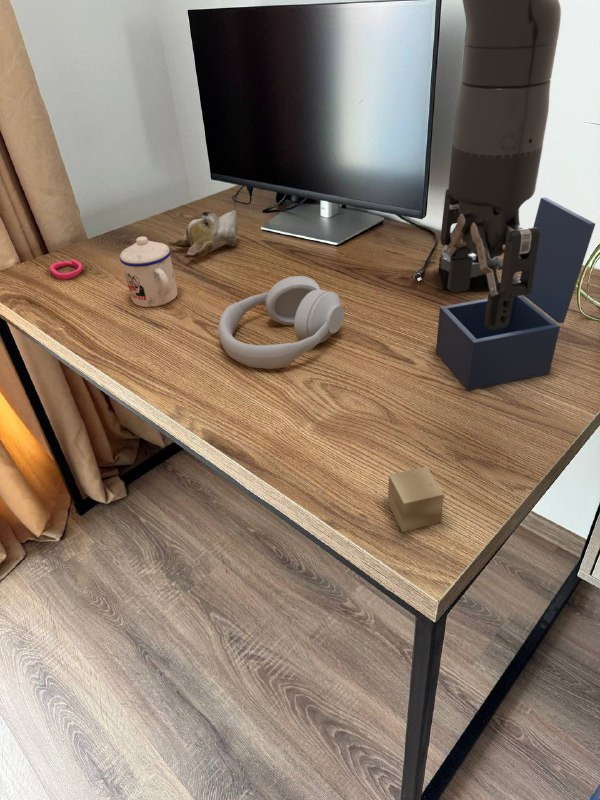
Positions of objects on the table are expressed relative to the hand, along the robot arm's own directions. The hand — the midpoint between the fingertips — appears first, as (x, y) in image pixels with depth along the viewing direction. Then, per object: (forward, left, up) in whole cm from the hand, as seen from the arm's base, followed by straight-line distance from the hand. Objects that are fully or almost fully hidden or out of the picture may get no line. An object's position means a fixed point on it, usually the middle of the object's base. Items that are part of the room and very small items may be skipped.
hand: (475, 307), depth 60 cm
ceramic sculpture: (+22, -75, -20) cm, 81 cm away
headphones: (+15, -33, -20) cm, 41 cm away
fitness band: (+52, -75, -20) cm, 93 cm away
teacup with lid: (+34, -55, -20) cm, 68 cm away
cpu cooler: (-22, -42, -20) cm, 52 cm away
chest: (-13, -16, -20) cm, 29 cm away
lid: (-20, -16, -5) cm, 26 cm away
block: (+9, +8, -20) cm, 23 cm away
